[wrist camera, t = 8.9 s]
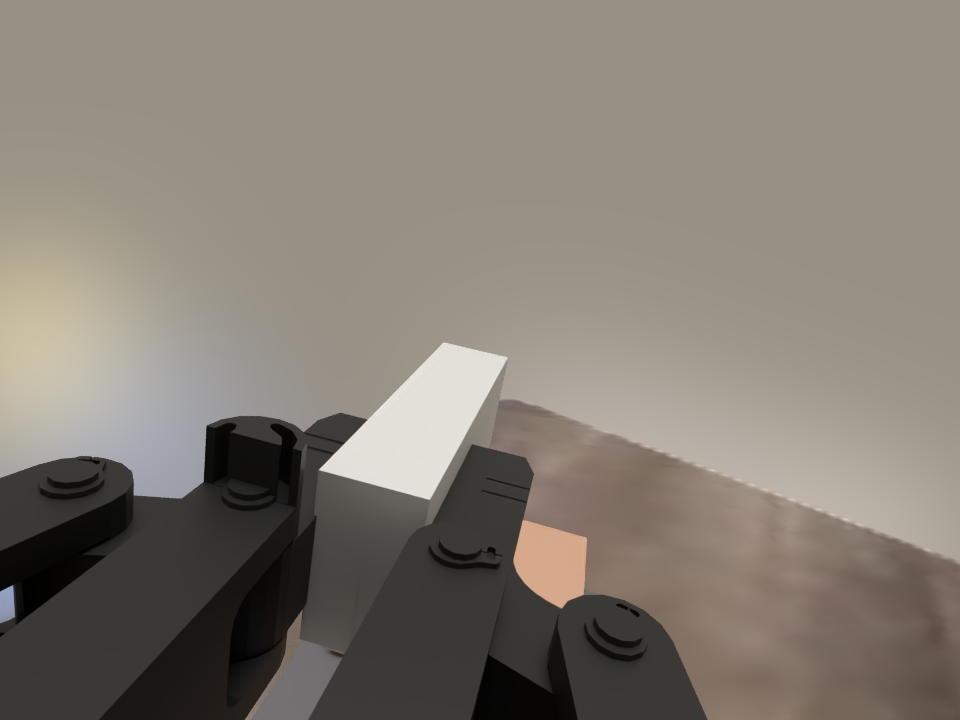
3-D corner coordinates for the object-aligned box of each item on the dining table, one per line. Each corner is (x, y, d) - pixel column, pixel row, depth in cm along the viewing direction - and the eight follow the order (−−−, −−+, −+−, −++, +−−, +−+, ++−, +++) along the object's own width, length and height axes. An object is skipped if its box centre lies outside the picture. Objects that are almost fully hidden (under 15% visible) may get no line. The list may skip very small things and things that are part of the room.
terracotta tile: (561, 730, 30) (574, 580, 42) (579, 676, 29) (586, 538, 41) (328, 654, 32) (401, 529, 43) (336, 600, 31) (409, 487, 42)
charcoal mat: (594, 600, 41) (596, 593, 41) (587, 846, 26) (590, 837, 26) (376, 535, 43) (377, 528, 43) (250, 728, 28) (250, 720, 27)
